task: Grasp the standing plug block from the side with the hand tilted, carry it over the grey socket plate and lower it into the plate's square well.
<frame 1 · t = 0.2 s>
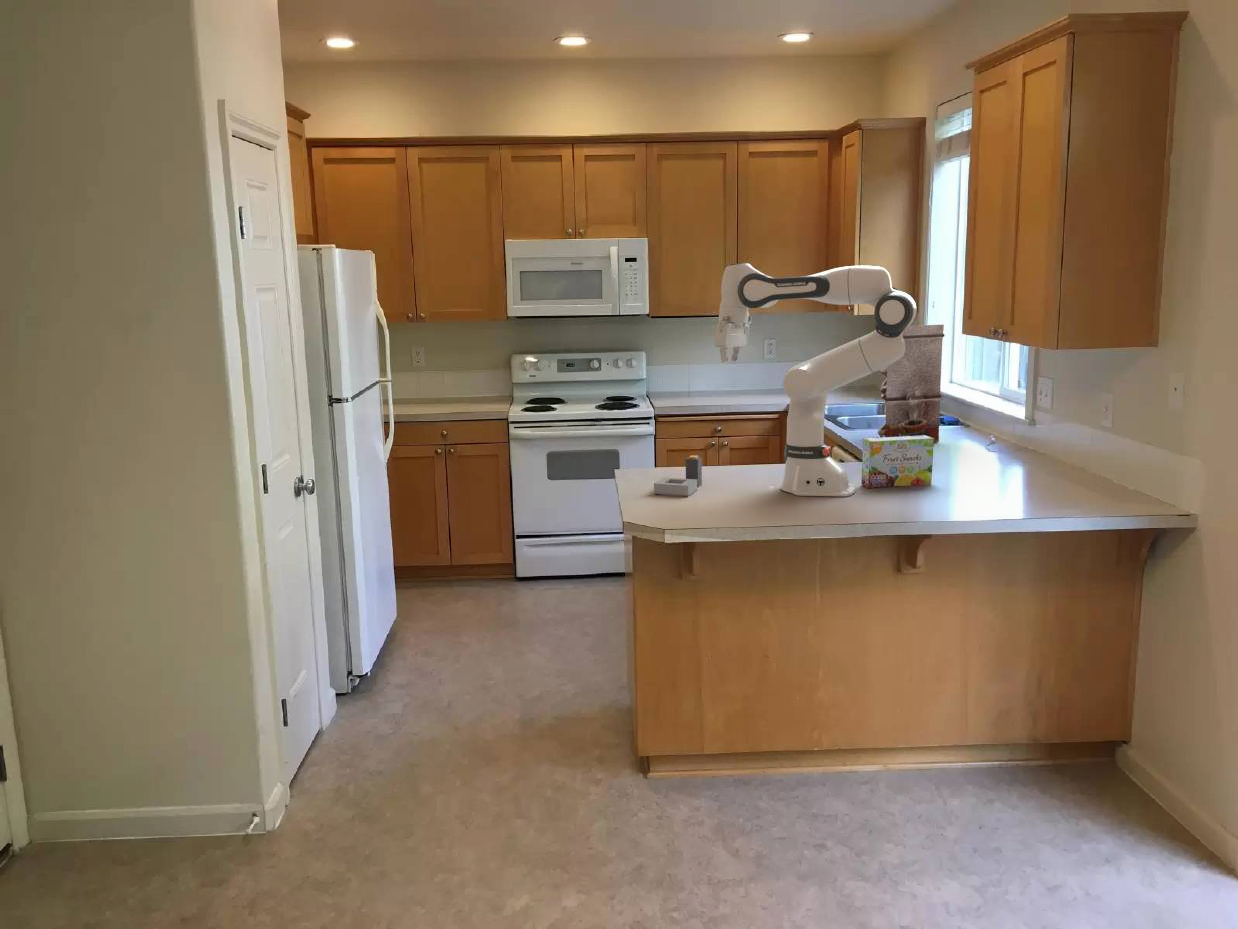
hand: (729, 361, 291), 39 cm above the countertop, tool pointing down, fingers open, 8 cm apart
snack box: (896, 485, 294), on the countertop
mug: (904, 463, 326), on the countertop
socket plate: (675, 492, 290), on the countertop
plug: (693, 485, 299), on the countertop
cherub statue: (899, 441, 368), on the countertop
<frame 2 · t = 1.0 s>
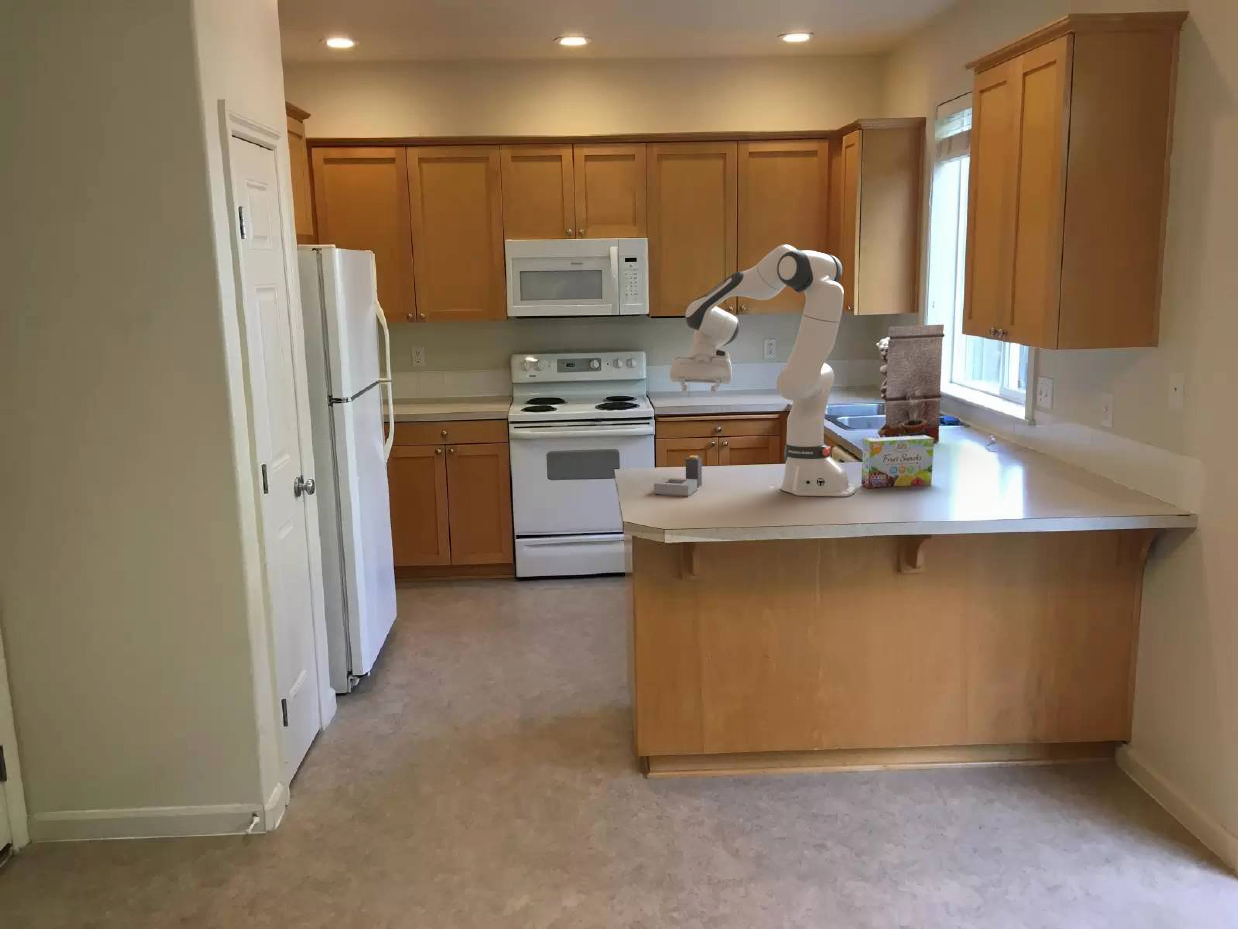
hand: (698, 391, 305), 29 cm above the countertop, tool tilted 45°, fingers open, 8 cm apart
nothing on the countertop moved.
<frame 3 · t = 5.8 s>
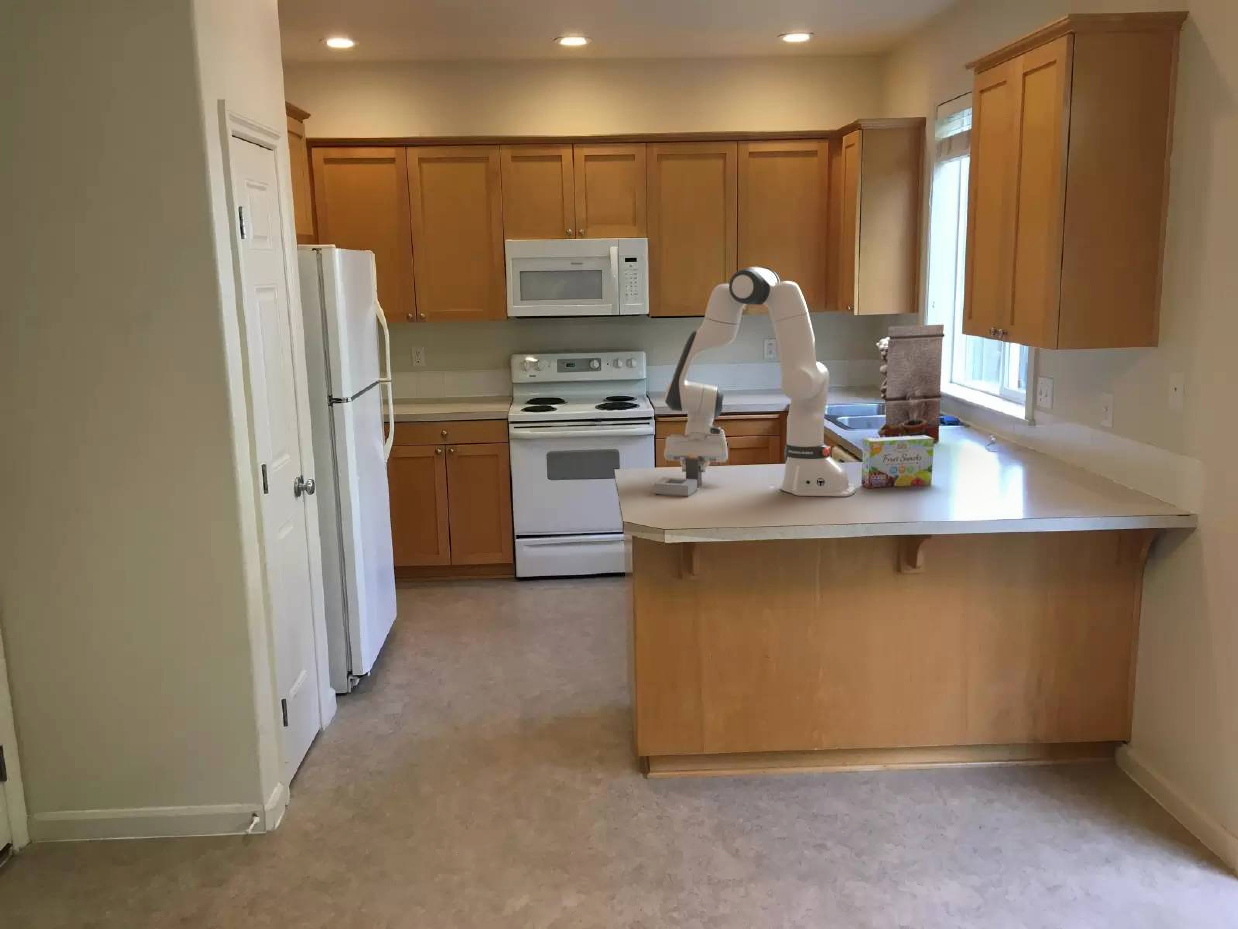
hand: (693, 471, 297), 5 cm above the countertop, tool tilted 45°, fingers closed on plug, 4 cm apart
plug: (693, 485, 299), on the countertop, touching gripper
everything else where it was.
when the fingers open (7 cm above the countertop, at t = 11.1 s): plug drops 2 cm, resting on socket plate.
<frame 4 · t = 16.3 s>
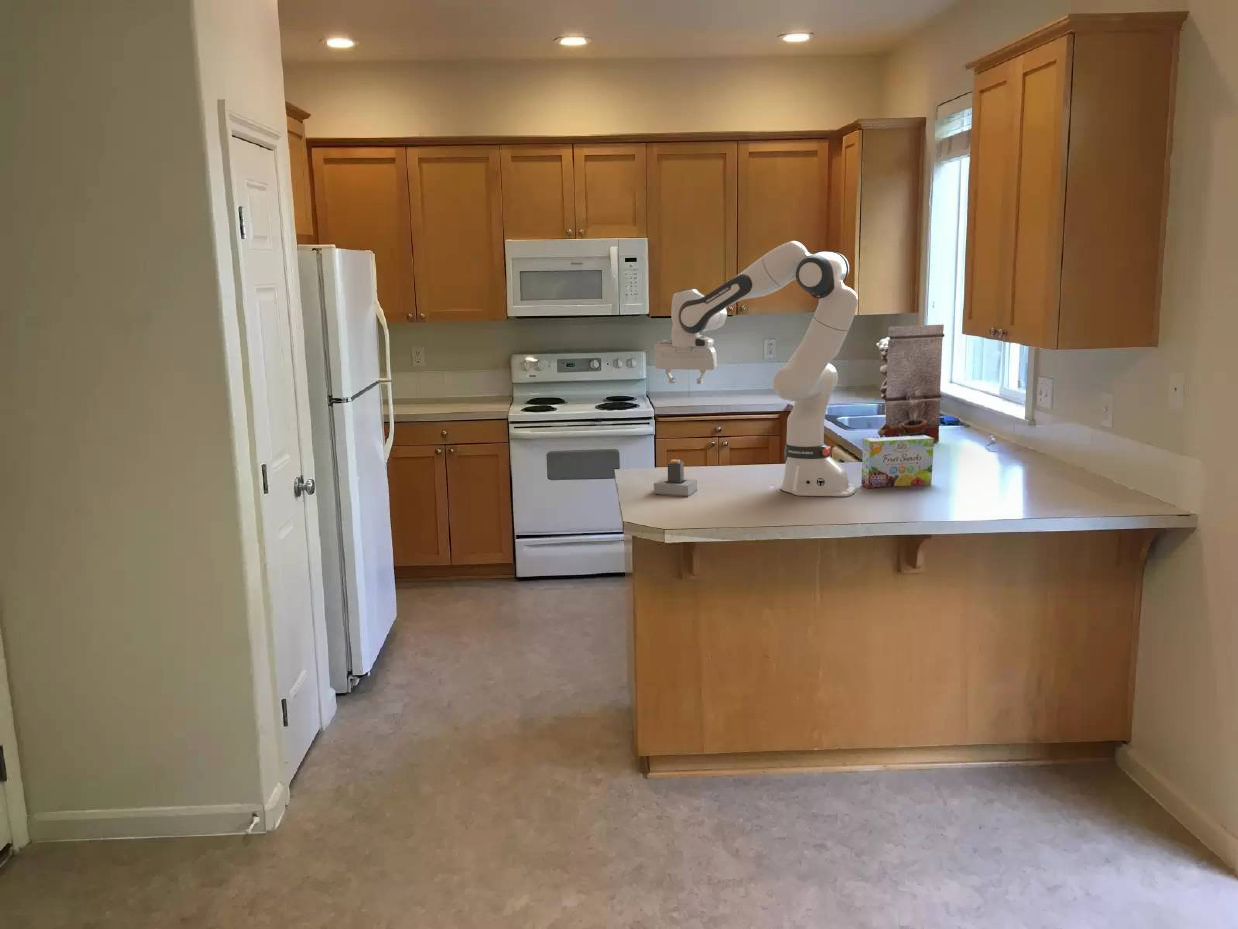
hand: (685, 383, 305), 31 cm above the countertop, tool pointing down, fingers open, 8 cm apart
plug: (675, 491, 290), resting on socket plate
everything else where it was.
at the end: plug 0.1 cm off-centre on the socket plate, point 0.5 cm above the socket plate's base; plug tilted 0°; the gripper is holding nothing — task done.
